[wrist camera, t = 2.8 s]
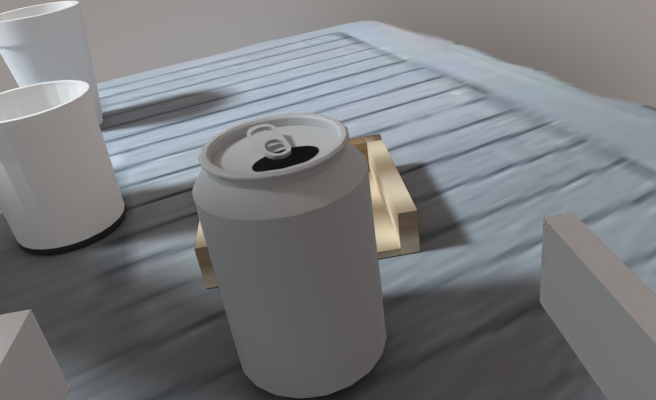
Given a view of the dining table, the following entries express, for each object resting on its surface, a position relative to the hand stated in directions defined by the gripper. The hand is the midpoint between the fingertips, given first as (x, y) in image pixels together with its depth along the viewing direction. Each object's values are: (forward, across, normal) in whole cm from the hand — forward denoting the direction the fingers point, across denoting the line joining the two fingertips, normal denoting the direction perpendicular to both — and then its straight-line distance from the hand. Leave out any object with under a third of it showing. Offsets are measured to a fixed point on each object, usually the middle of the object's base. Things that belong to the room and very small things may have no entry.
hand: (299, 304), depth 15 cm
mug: (+29, -19, -11) cm, 36 cm away
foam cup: (+53, -25, -11) cm, 59 cm away
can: (+10, 0, -12) cm, 15 cm away
